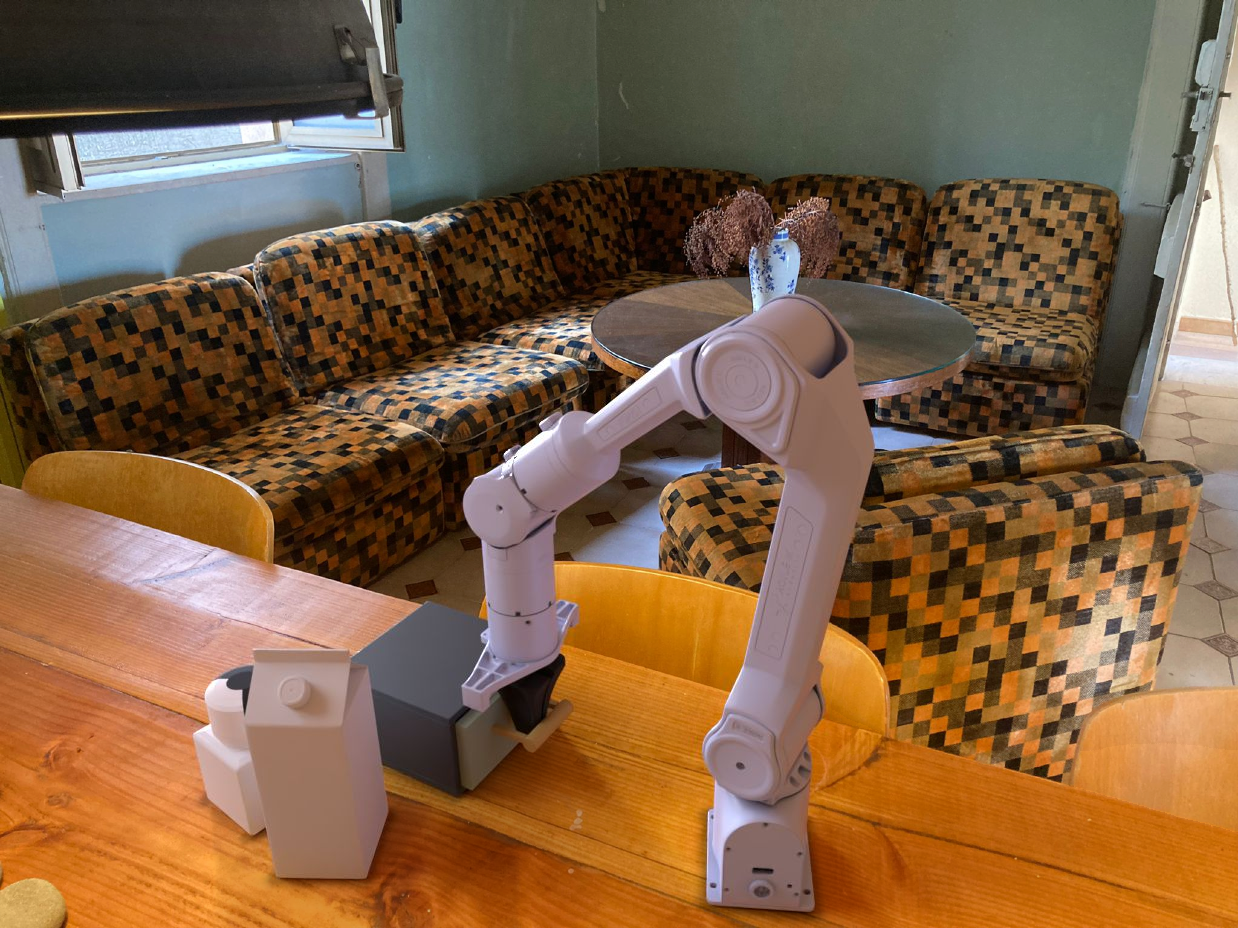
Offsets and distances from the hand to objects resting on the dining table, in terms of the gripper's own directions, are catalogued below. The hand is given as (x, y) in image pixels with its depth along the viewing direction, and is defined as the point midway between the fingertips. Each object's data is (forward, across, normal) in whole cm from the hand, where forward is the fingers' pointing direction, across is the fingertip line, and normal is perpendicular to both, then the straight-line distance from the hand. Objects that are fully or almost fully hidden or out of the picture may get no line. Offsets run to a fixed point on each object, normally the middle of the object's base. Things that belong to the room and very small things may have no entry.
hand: (529, 729), depth 85 cm
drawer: (+3, 0, -6) cm, 6 cm away
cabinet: (+4, 0, -10) cm, 10 cm away
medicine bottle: (+4, +14, -18) cm, 23 cm away
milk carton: (+4, +16, -8) cm, 18 cm away
